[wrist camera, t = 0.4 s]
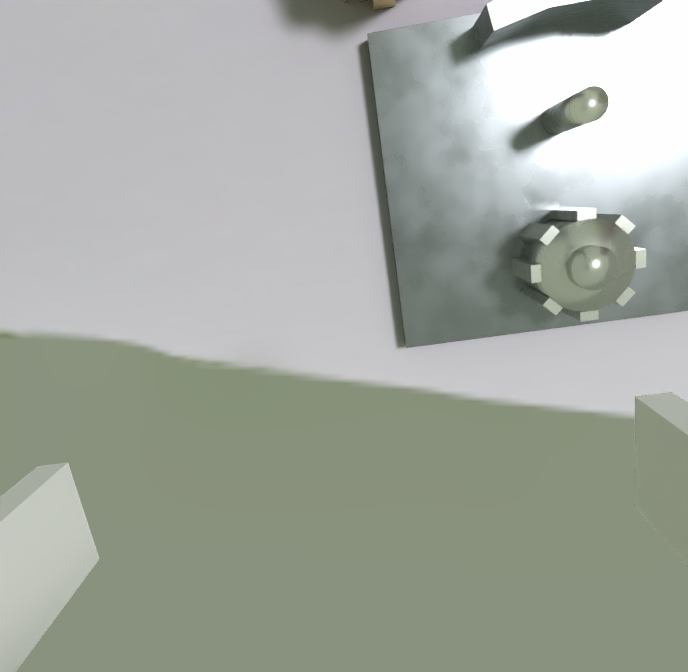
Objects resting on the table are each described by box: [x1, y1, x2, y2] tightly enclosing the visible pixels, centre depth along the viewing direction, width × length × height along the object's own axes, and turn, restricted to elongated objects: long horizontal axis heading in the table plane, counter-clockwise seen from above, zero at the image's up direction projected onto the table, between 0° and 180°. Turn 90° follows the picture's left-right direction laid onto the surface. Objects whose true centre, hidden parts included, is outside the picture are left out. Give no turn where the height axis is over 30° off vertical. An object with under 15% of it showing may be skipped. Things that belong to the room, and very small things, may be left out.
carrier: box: [367, 0, 688, 348], centre depth 31 cm, size 21×21×6 cm
